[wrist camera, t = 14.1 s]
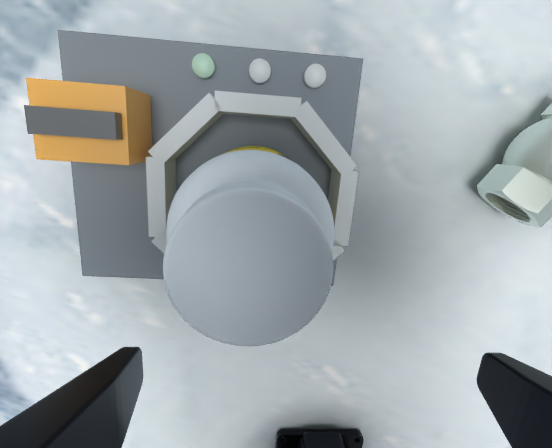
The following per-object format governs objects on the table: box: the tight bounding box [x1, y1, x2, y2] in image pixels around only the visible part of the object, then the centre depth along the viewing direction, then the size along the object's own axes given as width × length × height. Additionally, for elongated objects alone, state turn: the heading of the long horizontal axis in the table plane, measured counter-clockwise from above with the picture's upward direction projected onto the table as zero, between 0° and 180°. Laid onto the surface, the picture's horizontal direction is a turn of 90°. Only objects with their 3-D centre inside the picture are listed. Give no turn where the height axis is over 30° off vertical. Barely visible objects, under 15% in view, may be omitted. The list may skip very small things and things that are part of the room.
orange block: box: [24, 78, 152, 165], centre depth 14 cm, size 3×4×4 cm
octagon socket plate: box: [58, 30, 363, 286], centre depth 16 cm, size 12×14×4 cm
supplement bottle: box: [163, 146, 334, 346], centre depth 12 cm, size 5×5×10 cm
